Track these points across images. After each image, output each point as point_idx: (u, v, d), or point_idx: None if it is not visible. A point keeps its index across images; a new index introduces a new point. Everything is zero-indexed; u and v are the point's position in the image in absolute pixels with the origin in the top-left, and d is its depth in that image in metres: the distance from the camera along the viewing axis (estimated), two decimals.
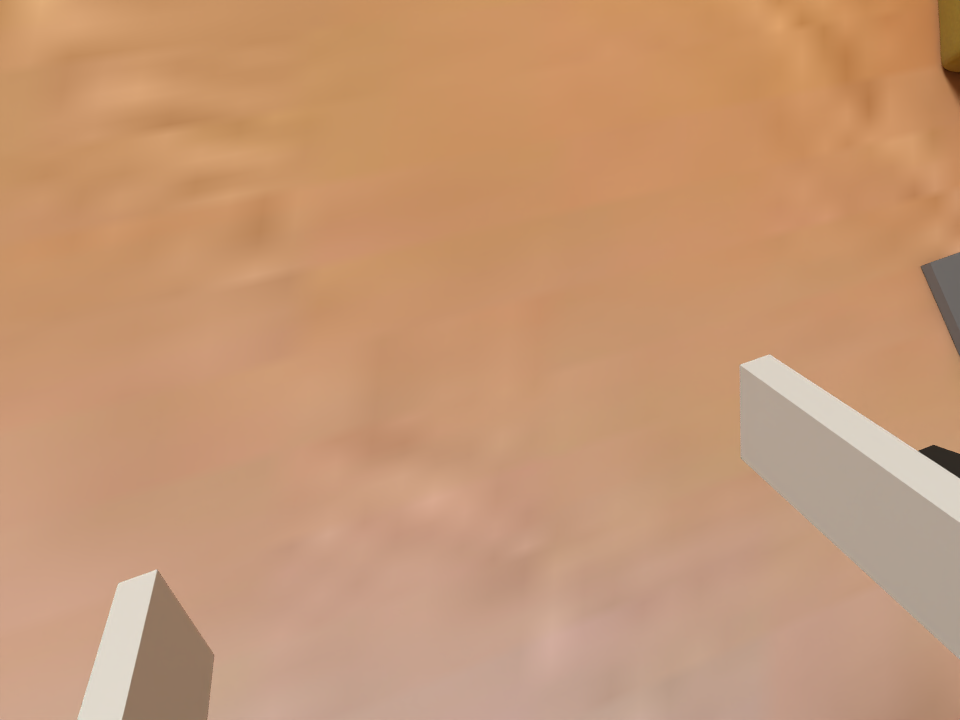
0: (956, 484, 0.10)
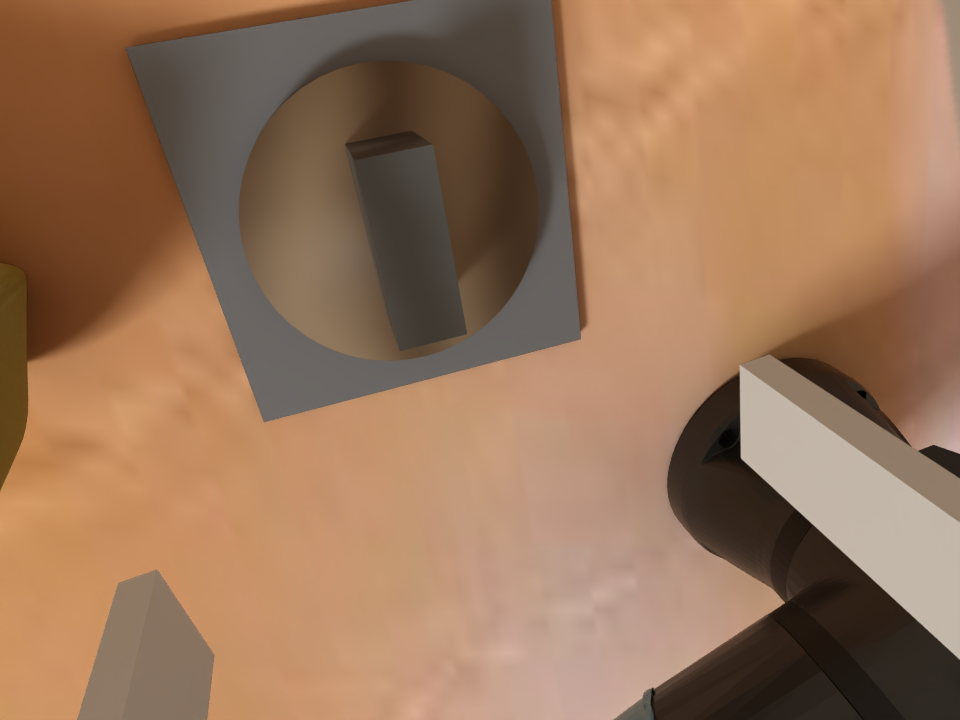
0: (956, 484, 0.10)
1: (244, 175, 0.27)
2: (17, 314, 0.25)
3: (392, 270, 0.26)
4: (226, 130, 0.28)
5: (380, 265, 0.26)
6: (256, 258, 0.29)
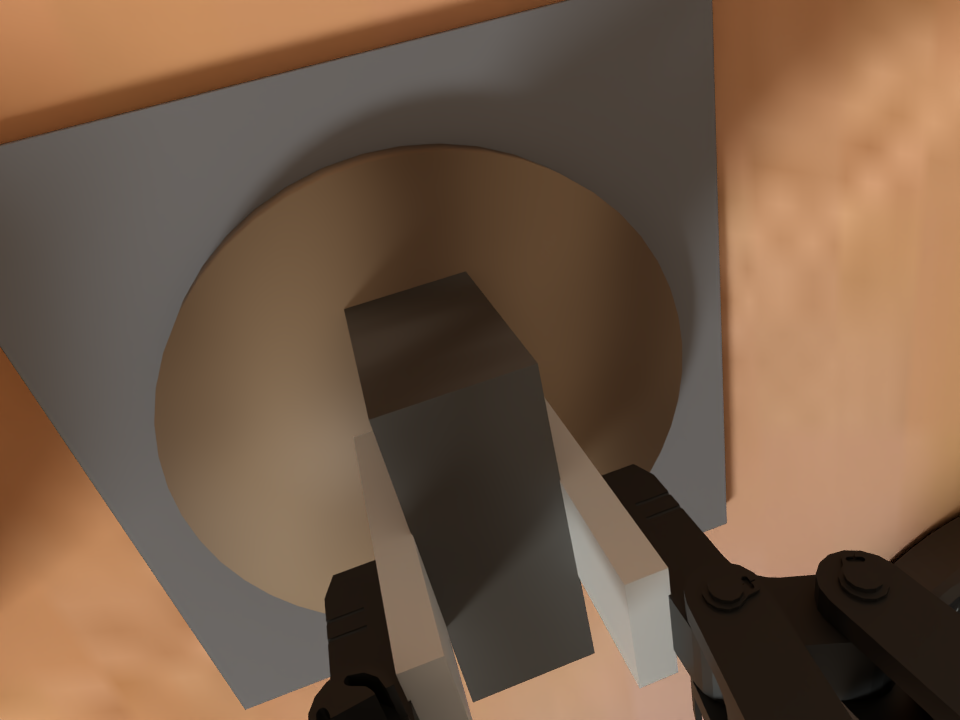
0: (609, 501, 0.11)
1: (159, 386, 0.14)
2: None
3: (456, 590, 0.13)
4: (120, 301, 0.15)
5: (432, 586, 0.13)
6: (199, 511, 0.16)
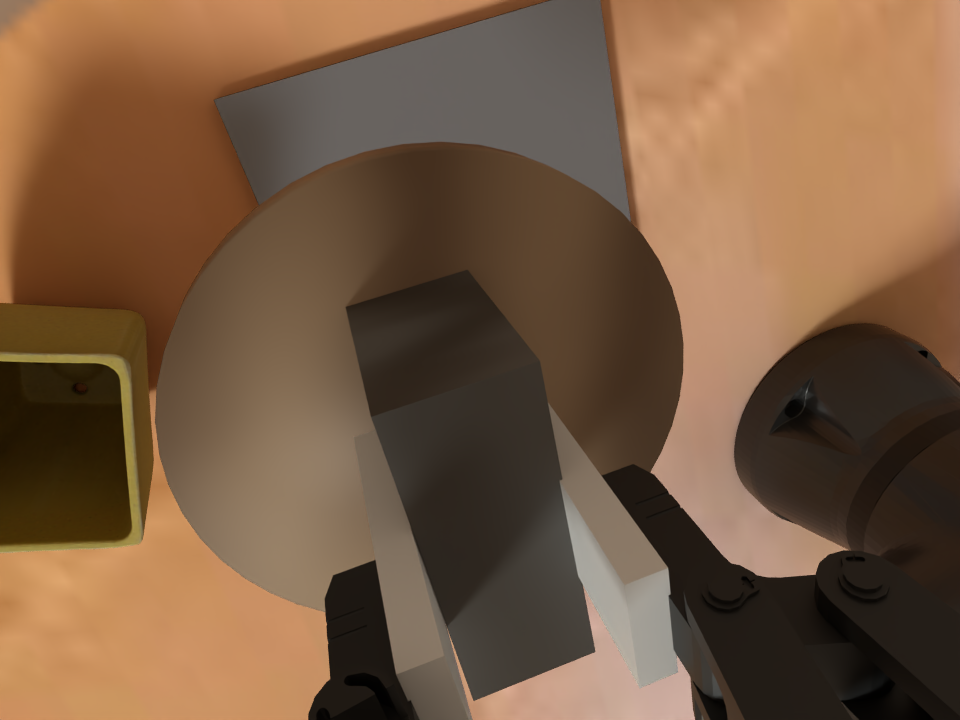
0: (610, 501, 0.11)
1: (160, 383, 0.14)
2: (144, 356, 0.27)
3: (457, 588, 0.13)
4: (307, 165, 0.30)
5: (433, 584, 0.13)
6: (200, 509, 0.16)
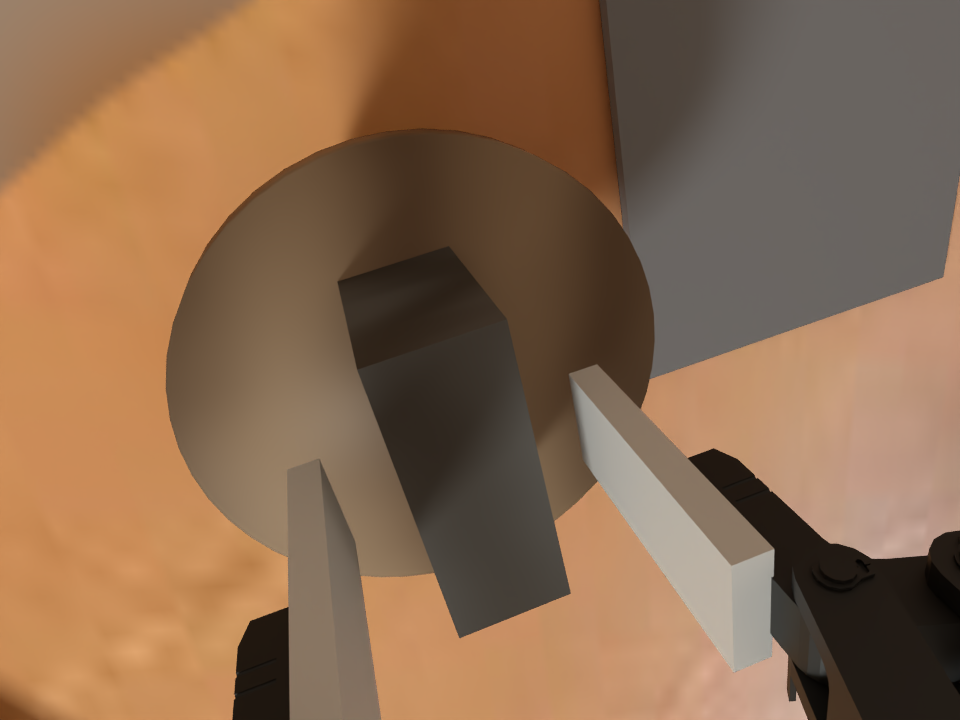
0: (701, 484, 0.11)
1: (169, 353, 0.16)
2: None
3: (440, 530, 0.14)
4: (676, 65, 0.26)
5: (418, 526, 0.14)
6: (208, 471, 0.18)
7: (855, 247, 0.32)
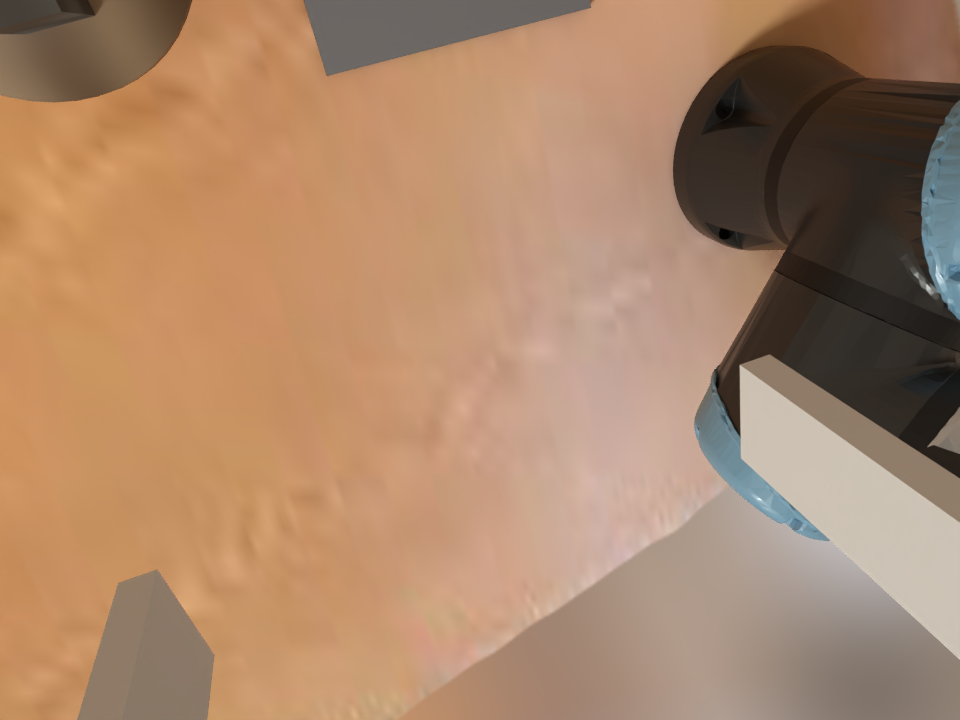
0: (956, 484, 0.10)
1: None
2: None
3: None
4: None
5: None
6: None
7: None
